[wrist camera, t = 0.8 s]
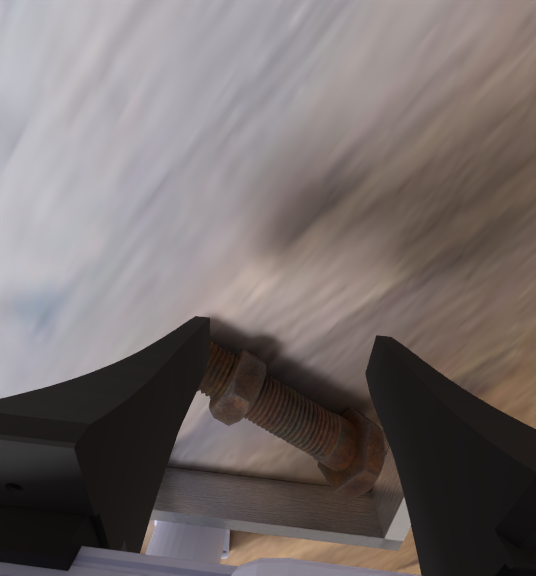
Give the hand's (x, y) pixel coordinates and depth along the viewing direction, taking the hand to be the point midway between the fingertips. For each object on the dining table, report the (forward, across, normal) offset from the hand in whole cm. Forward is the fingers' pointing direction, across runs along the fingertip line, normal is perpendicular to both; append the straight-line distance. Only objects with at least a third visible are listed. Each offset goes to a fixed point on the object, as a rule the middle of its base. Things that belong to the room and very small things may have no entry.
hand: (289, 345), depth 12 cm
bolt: (+7, 0, +8) cm, 10 cm away
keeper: (+6, 0, +15) cm, 17 cm away
